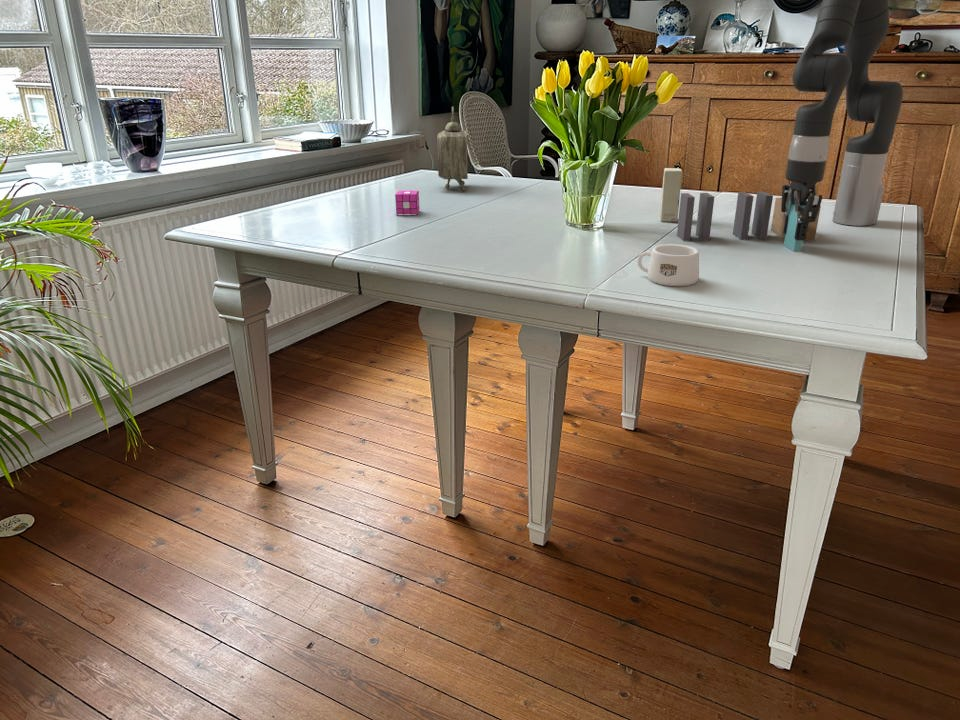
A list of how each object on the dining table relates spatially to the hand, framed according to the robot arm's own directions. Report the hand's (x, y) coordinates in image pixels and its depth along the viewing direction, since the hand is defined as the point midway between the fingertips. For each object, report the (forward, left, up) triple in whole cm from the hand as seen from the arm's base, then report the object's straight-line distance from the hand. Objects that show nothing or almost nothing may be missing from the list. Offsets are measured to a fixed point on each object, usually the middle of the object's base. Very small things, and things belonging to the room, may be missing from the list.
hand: (794, 236), depth 157 cm
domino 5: (0, 0, -3) cm, 3 cm away
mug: (+34, +20, -3) cm, 40 cm away
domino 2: (+16, -11, -3) cm, 20 cm away
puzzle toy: (+87, -45, -3) cm, 98 cm away
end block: (-5, -11, -3) cm, 12 cm away
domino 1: (+21, -11, -3) cm, 24 cm away
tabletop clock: (+74, -80, -3) cm, 109 cm away
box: (+19, -30, -3) cm, 36 cm away
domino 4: (+3, -11, -3) cm, 12 cm away
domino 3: (+7, -11, -3) cm, 14 cm away
